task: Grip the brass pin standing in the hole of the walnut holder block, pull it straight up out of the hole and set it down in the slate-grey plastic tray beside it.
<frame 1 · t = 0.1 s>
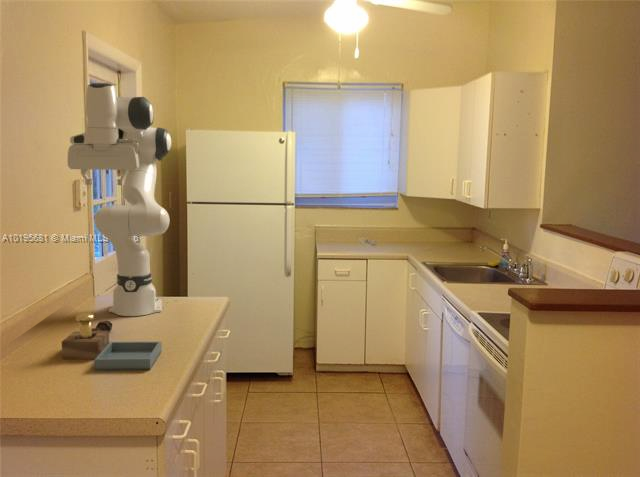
hand: (104, 185, 173), 48 cm above the worktop, tool pointing down, fingers open, 8 cm apart
holder: (86, 352, 167), on the worktop
pin: (85, 334, 166), in the holder
tray: (129, 360, 161), on the worktop
bolt: (101, 338, 181), on the worktop
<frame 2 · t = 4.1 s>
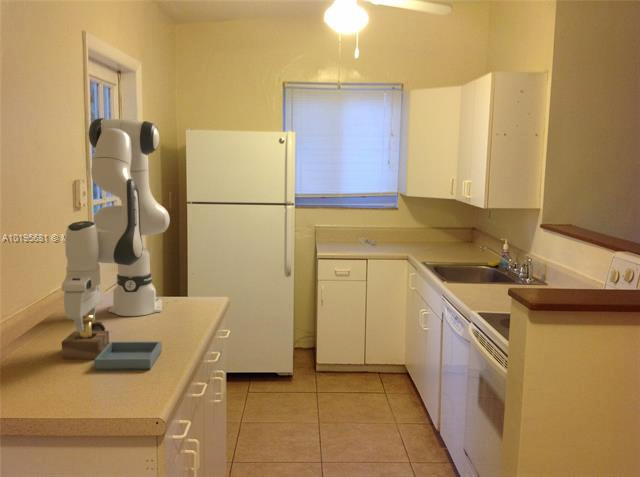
hand: (85, 326, 166), 8 cm above the worktop, tool pointing down, fingers open, 8 cm apart
bolt: (97, 339, 180), on the worktop
everything else where it was.
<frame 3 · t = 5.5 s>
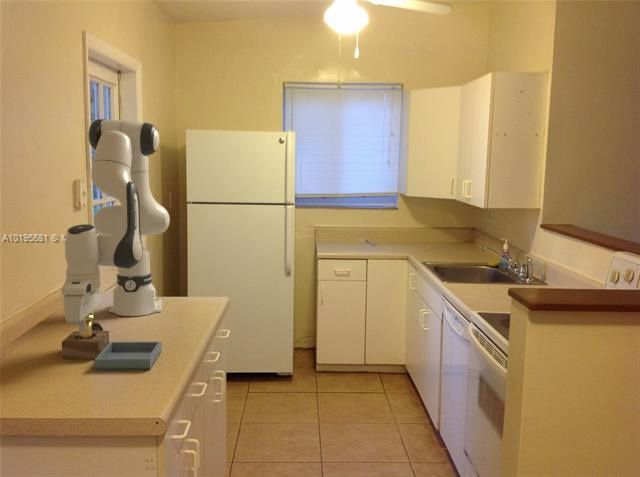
hand: (85, 329, 166), 7 cm above the worktop, tool pointing down, fingers closed on pin, 3 cm apart
pin: (85, 334, 166), in the holder, touching gripper
bolt: (95, 340, 180), on the worktop, touching holder
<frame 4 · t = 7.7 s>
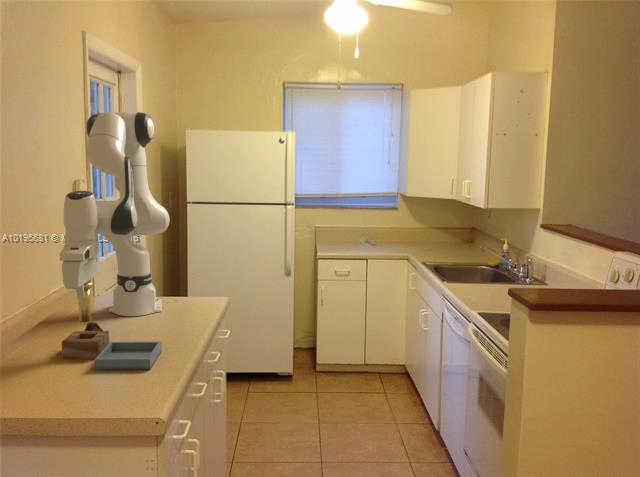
hand: (84, 296, 165), 17 cm above the worktop, tool pointing down, fingers closed on pin, 3 cm apart
pin: (84, 301, 165), point 15 cm above the worktop, touching gripper
bolt: (95, 340, 180), on the worktop
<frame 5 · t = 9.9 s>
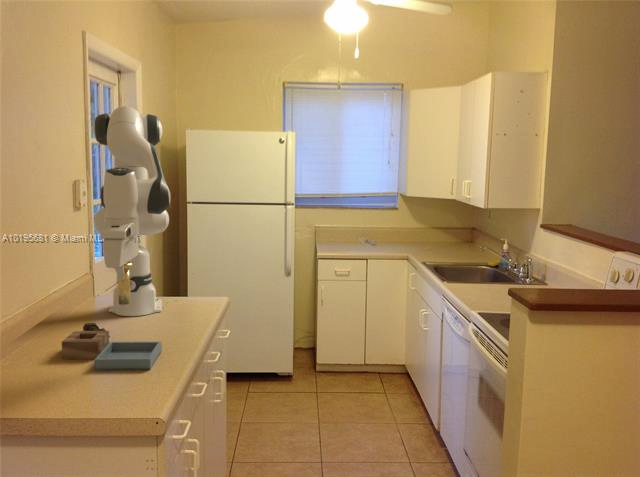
hand: (123, 278, 158), 24 cm above the worktop, tool pointing down, fingers closed on pin, 3 cm apart
pin: (123, 283, 158), point 22 cm above the worktop, touching gripper
everything else where it was.
when the fingers open (9 cm above the worktop, at t = 14.2 s): pin moves 2 cm, resting on tray.
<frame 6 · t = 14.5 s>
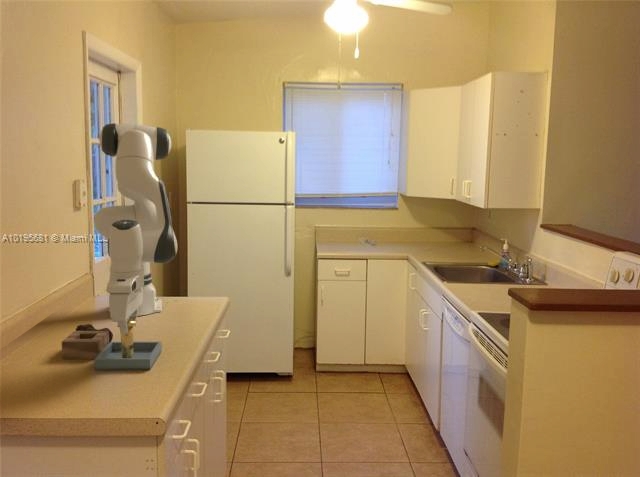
hand: (128, 328, 160), 9 cm above the worktop, tool pointing down, fingers open, 8 cm apart
pin: (127, 340, 159), in the tray, point 6 cm above the worktop, touching gripper
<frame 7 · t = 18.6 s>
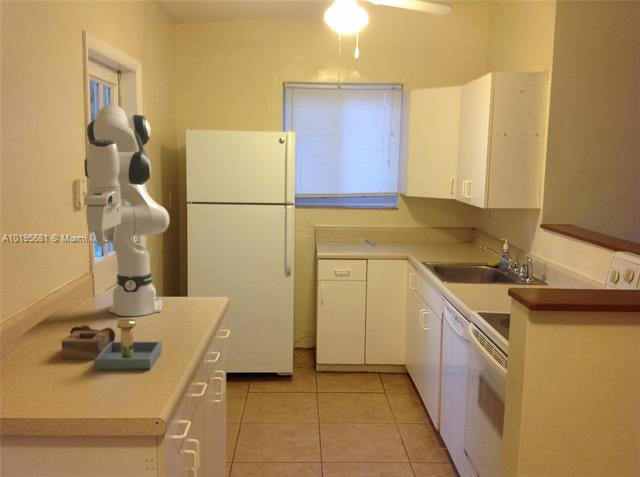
hand: (106, 243, 169), 31 cm above the worktop, tool pointing down, fingers open, 8 cm apart
pin: (127, 341, 159), in the tray, point 6 cm above the worktop
bolt: (91, 342, 178), on the worktop
at the end: pin inside the target area on the tray (1.8 cm from its centre), point 6.2 cm above the tray's base; pin moved 16.2 cm from its start; the gripper is holding nothing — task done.
